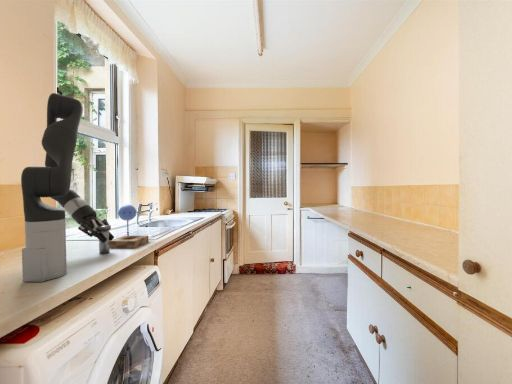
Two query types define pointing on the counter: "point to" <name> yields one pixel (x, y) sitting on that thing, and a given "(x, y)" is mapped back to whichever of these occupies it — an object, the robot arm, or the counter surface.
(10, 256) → the counter surface
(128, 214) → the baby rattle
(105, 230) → the pin
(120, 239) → the hole block
